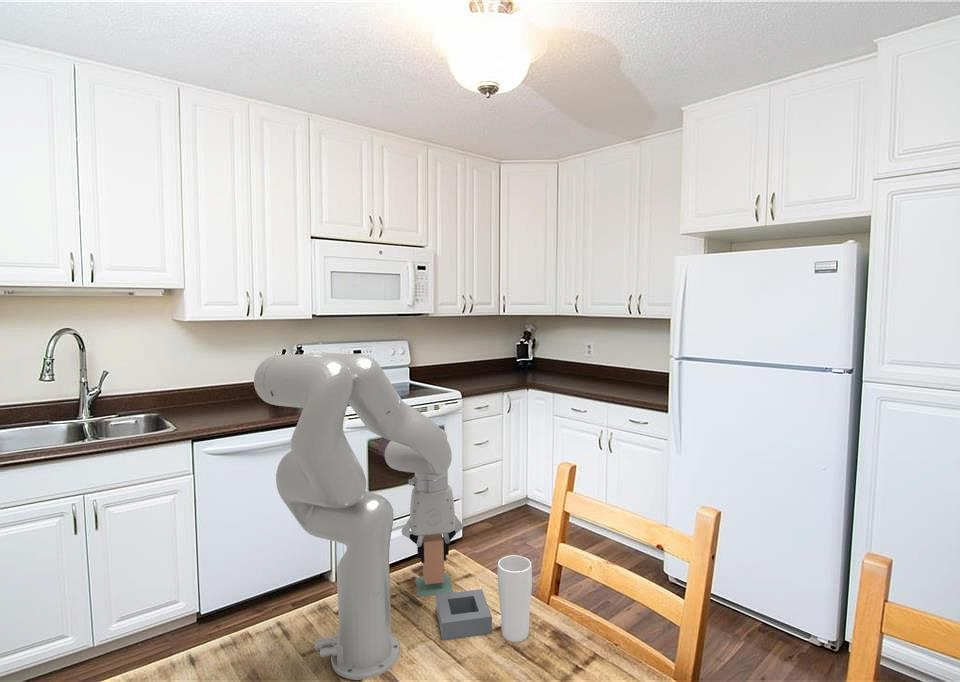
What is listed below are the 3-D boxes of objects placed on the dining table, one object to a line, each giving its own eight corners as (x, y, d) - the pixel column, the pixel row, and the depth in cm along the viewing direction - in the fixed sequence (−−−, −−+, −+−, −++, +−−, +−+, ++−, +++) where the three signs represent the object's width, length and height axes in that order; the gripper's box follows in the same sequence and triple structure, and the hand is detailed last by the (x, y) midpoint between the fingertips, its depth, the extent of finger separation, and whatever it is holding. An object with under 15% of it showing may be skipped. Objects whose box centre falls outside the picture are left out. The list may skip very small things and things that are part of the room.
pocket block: (442, 642, 102) (441, 623, 102) (436, 612, 112) (436, 594, 111) (492, 635, 104) (491, 616, 103) (482, 606, 114) (481, 589, 113)
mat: (417, 598, 117) (417, 596, 117) (415, 579, 125) (415, 577, 125) (453, 594, 118) (453, 592, 118) (448, 576, 126) (448, 574, 126)
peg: (425, 584, 119) (424, 542, 118) (423, 574, 123) (422, 533, 122) (444, 582, 120) (443, 540, 119) (441, 572, 124) (441, 531, 123)
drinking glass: (530, 649, 100) (530, 573, 98) (495, 644, 101) (494, 570, 100) (533, 627, 106) (533, 556, 105) (501, 623, 108) (500, 553, 106)
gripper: (394, 491, 114) (397, 571, 116) (470, 485, 117) (471, 563, 119) (393, 480, 121) (395, 555, 123) (465, 474, 125) (466, 547, 126)
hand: (433, 558), depth 121 cm, fingers closed on peg, 4 cm apart
